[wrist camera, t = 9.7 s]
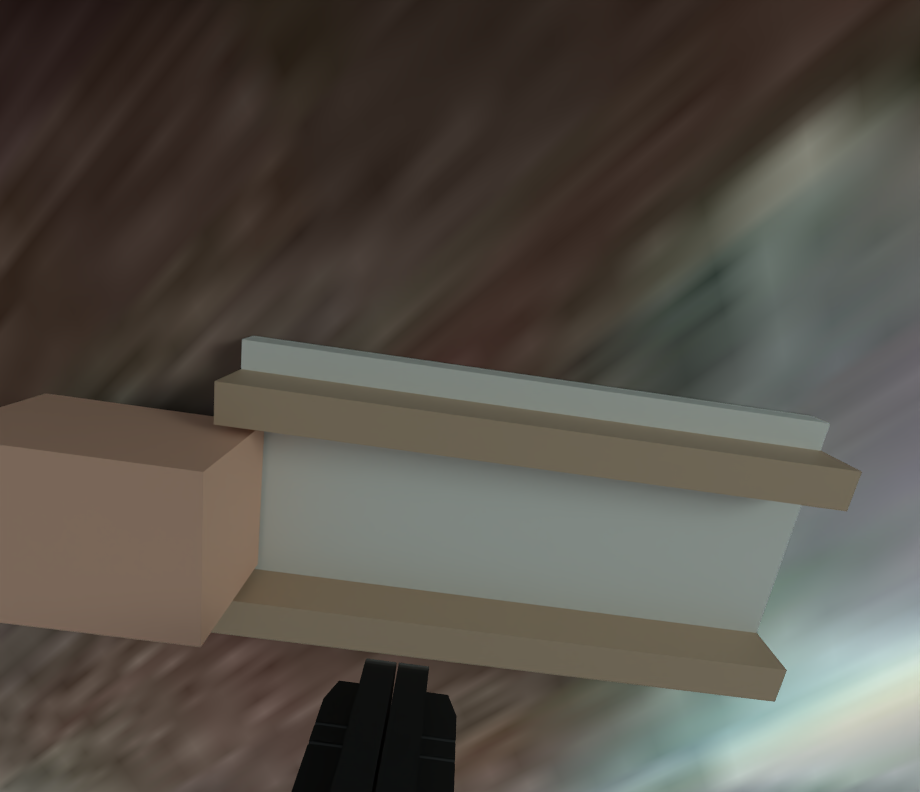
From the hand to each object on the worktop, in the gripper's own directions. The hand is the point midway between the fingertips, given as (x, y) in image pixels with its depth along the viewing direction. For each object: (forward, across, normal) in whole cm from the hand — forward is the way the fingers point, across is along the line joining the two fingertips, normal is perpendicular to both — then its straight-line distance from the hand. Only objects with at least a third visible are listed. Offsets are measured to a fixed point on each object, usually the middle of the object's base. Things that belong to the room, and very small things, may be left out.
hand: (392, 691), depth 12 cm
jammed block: (+8, +10, 0) cm, 13 cm away
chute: (+9, -4, 0) cm, 10 cm away
